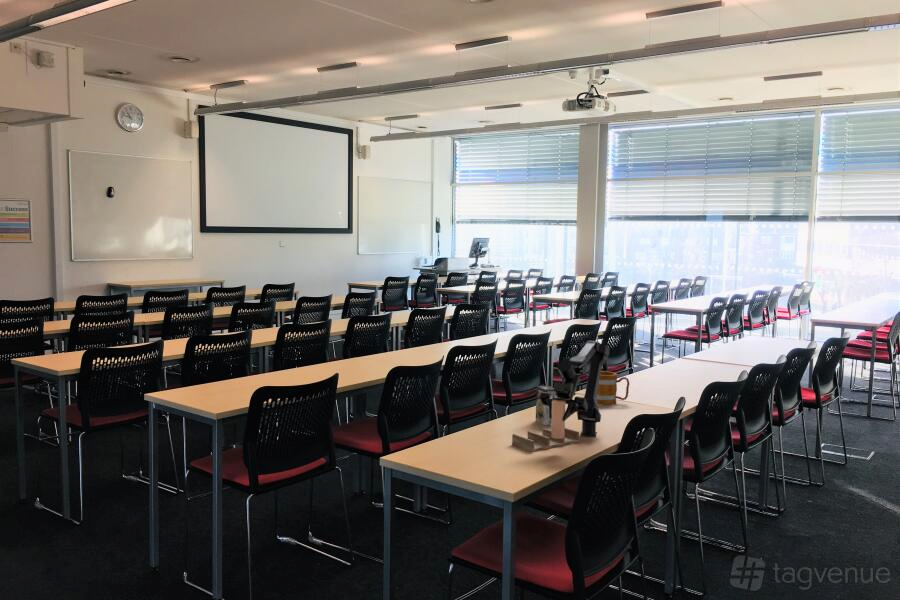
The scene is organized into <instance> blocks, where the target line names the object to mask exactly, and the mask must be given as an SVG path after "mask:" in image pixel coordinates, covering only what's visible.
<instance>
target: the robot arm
mask: <svg viewBox="0 0 900 600" xmlns="http://www.w3.org/2000/svg"><path fill="white" fill-rule="evenodd" d="M609 355H610V348H609V347H608V346H607V345H605V344H602V343H600V342H598V341H596V340H587V341H586V342H585V345H584V346H583V348H582V349H581V350H580V351H579V352H578V353H577V355H576V356H572V357H565V358H564V359H563V360H561V361H559V362H558V363H557V366H556V367H557V370H558V372H559V374H560V376H561V378H562V379H563V381H562V382H554V385H553V388H554V389H553V391H555V392H556V393H555V394H556V395H557V397H554V396H552V395H551V393H547V392H541V393H540V396H539V398H540V400H541V402H542V404H543V405H547V406H549V418H550V419H551V416H552V400H564V401H566V402H565V405H567V407H566V408H565V414H564V417H563V421H565V422H566V420H567V419H569V418H570V417H571V416H572V415H574V414H575V413H576V415H577V420H579V421H581V424H582V425H581V431H580V436H581V435H585V436H584V437H593V436H596V437H597V435H596V434H598V431H596V430H597V423H601V419H602V414H601V413H600V410H599V405H598V403H597V401H596V395H597V390H598V384H599V379H600V373H601V371H602V367H603V366H604V365H605V364H606V363H607V361H608V357H609ZM589 362H590V367H589V373H588V376H587V377H588V378H587V382H586V387H585V388H586V389H585V393H584V396H576V395H577V394H576V390H577V388H578V385H580V383H581V381H580V377H579V375H581V376H582V375H584V374H585V373H586V372H587V370H588V367H587V366H588V365H587V364H588V363H589Z"/></svg>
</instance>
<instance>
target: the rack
mask: <svg viewBox="0 0 900 600" xmlns="http://www.w3.org/2000/svg"><path fill="white" fill-rule="evenodd" d="M511 438H512V439H511V444H512V445H513V446H515V447H518V448H521V449H523V450H527V451H529V452H531V451H532V452H533V451H534V452H538V451H543V450H547V448H548V449H553V448H557V447H556V446H558V447H562V446H566V445H565V444H567V445H571V444H570V443H572V444H575V443H574V442H577V443H579V442H580V431H577V430H574V429H571V428H568V427H565V437H564V438H561V439H557V438H552V437H551V429H549V428H548V429H547V428H545V427H543V428H542V433H541V434H539V433H536V432H533V431H531V430H529V431H527V437H524V436H522V435H519V434H516V433H513V434H512V437H511ZM561 445H562V446H561ZM552 447H553V448H552Z"/></svg>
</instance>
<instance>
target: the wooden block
mask: <svg viewBox="0 0 900 600" xmlns="http://www.w3.org/2000/svg"><path fill="white" fill-rule="evenodd" d="M565 402H566V401H564V400H552V416H551V425H550V430H551V437H552V438H557V439H561V438H564V437H565V428H566V420H565V421H563V417H564V414H565V412H566V404H565Z"/></svg>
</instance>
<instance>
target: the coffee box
mask: <svg viewBox="0 0 900 600" xmlns="http://www.w3.org/2000/svg"><path fill="white" fill-rule="evenodd" d="M535 388H536V393H535V394H536V395H535V397H536V399H535V421H536V422H538V423H539V424H541V425H543V426H551V419H550V418H549V406H547V405H543V404H542V402H541V400H540V398H539V396H540V393H541V392H547V393H551V395H552V396H554V397H557V395H556V394H555V393H556V392H555V391H553V389H554V386H553V387H552V386H551V385H536V387H535Z"/></svg>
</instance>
